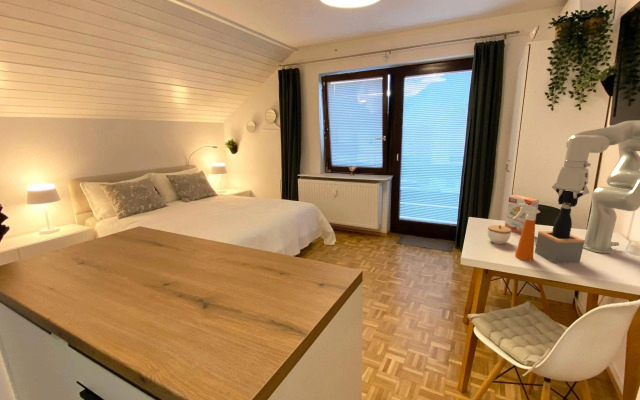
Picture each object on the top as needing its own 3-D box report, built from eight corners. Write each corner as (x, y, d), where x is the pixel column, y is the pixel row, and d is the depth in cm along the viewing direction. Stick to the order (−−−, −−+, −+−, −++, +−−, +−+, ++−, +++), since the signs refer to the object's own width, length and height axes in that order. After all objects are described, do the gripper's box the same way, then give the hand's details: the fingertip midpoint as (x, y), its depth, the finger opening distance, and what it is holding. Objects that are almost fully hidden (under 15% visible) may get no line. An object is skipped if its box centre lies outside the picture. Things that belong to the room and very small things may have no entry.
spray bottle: (504, 253, 146) (512, 201, 139) (528, 255, 143) (538, 202, 137) (509, 259, 139) (518, 205, 133) (535, 261, 137) (546, 206, 130)
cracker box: (503, 228, 180) (508, 195, 175) (511, 227, 182) (516, 194, 177) (525, 236, 167) (531, 200, 162) (533, 235, 169) (539, 199, 164)
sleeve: (558, 252, 147) (563, 231, 144) (579, 263, 135) (584, 240, 132) (534, 252, 147) (538, 231, 144) (553, 263, 135) (558, 240, 132)
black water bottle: (558, 250, 143) (570, 189, 136) (569, 256, 137) (582, 192, 130) (545, 250, 143) (556, 190, 136) (555, 256, 137) (568, 193, 130)
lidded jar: (508, 240, 162) (511, 223, 160) (510, 247, 153) (513, 229, 151) (486, 237, 167) (488, 221, 165) (486, 243, 158) (488, 226, 155)
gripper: (603, 166, 124) (593, 208, 129) (558, 162, 139) (550, 200, 143) (594, 167, 121) (584, 210, 126) (549, 163, 136) (541, 202, 140)
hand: (566, 204), depth 134 cm, fingers closed on black water bottle, 3 cm apart
